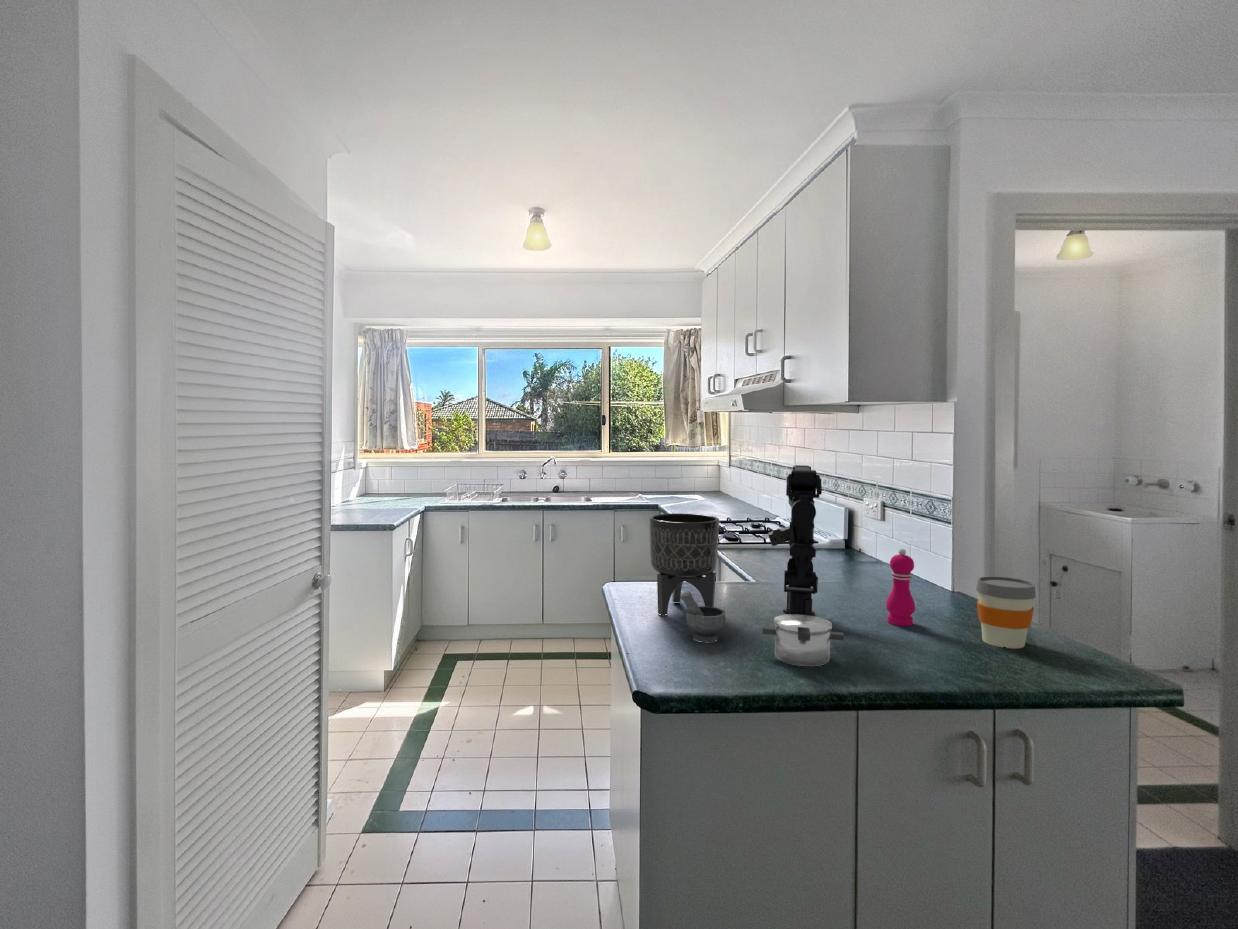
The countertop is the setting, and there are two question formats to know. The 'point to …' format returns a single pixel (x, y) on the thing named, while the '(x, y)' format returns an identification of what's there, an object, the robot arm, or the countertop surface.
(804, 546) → the robot arm
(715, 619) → the mortar and pestle
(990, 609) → the reusable coffee cup
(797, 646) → the steel pot
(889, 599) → the pepper mill
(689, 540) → the planter
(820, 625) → the steel lid
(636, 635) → the countertop surface
